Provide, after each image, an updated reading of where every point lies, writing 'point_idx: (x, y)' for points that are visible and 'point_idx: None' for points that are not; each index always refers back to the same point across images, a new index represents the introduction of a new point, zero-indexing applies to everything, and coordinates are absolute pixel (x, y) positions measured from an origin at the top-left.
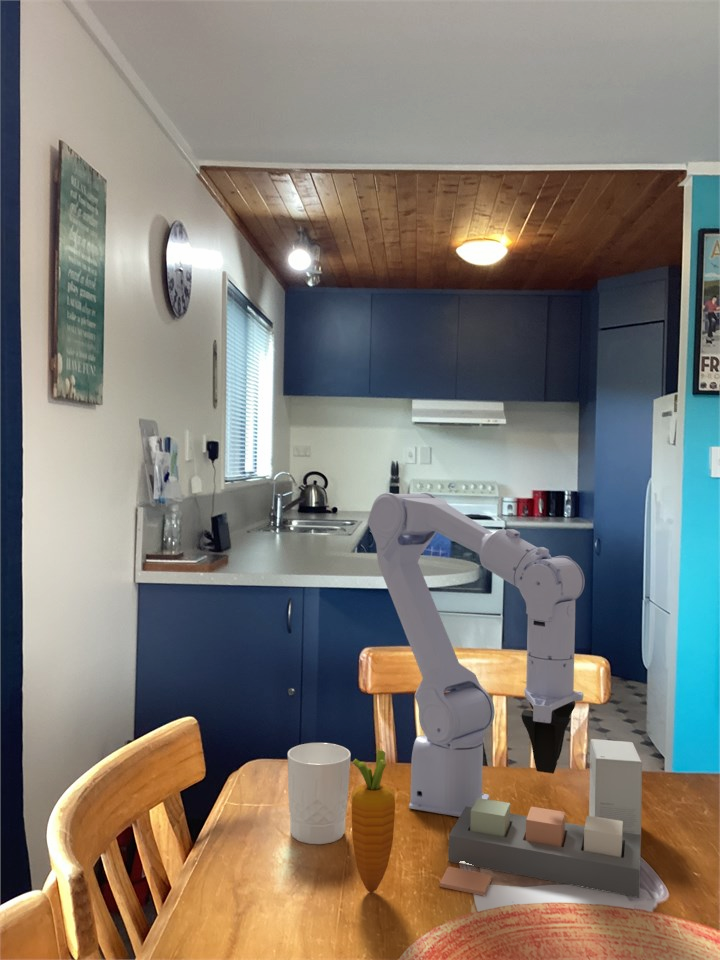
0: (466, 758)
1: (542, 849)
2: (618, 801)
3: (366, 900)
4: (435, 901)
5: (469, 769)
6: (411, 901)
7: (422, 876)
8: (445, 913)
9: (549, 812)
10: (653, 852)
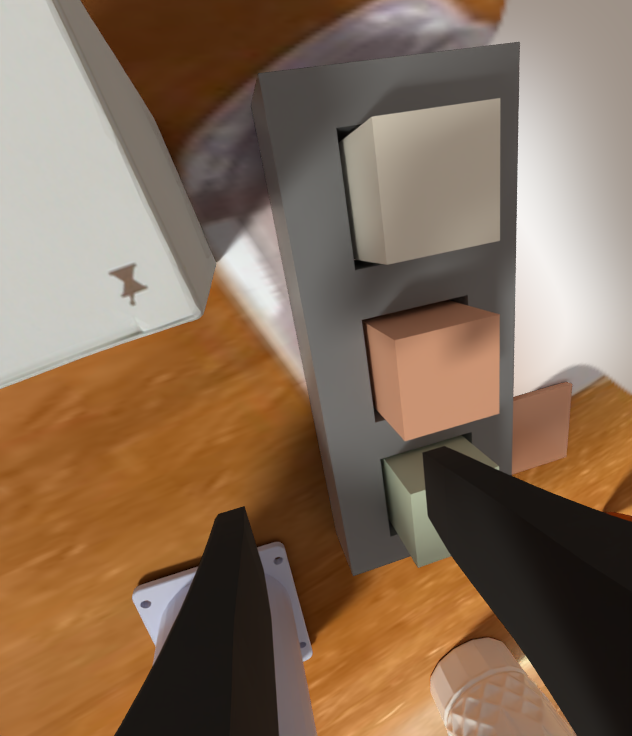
0: (293, 728)
1: (500, 336)
2: (172, 176)
3: (622, 506)
4: (601, 435)
5: (280, 682)
6: (610, 461)
7: None
8: (628, 406)
9: (423, 379)
10: (160, 67)
